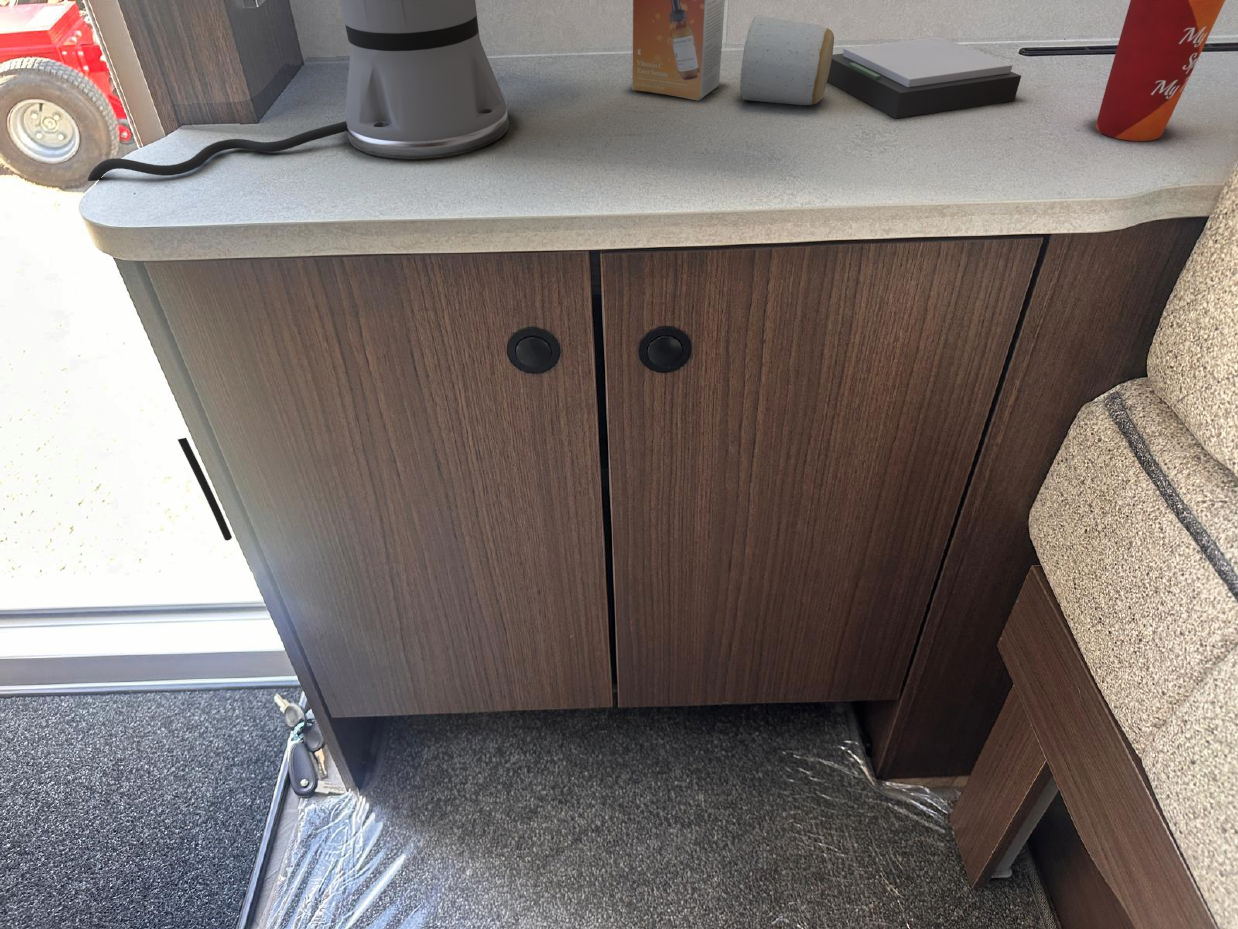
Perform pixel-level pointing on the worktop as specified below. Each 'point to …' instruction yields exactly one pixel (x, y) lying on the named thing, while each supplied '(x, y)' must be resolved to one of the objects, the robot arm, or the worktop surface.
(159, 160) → the worktop surface
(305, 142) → the robot arm
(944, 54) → the scale
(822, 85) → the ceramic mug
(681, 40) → the small box
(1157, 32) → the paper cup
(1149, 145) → the worktop surface
